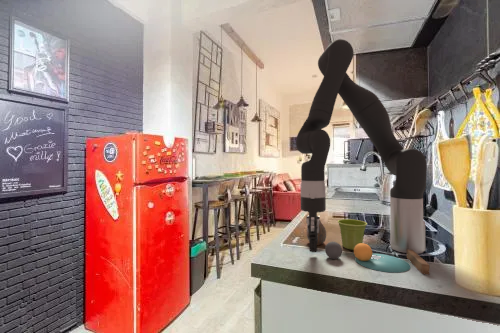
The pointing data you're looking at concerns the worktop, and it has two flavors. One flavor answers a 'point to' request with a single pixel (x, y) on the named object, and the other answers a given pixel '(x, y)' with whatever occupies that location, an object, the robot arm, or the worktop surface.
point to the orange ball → (363, 252)
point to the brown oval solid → (320, 234)
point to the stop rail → (418, 262)
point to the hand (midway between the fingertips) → (313, 251)
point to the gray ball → (333, 250)
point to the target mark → (385, 264)
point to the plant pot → (351, 232)
